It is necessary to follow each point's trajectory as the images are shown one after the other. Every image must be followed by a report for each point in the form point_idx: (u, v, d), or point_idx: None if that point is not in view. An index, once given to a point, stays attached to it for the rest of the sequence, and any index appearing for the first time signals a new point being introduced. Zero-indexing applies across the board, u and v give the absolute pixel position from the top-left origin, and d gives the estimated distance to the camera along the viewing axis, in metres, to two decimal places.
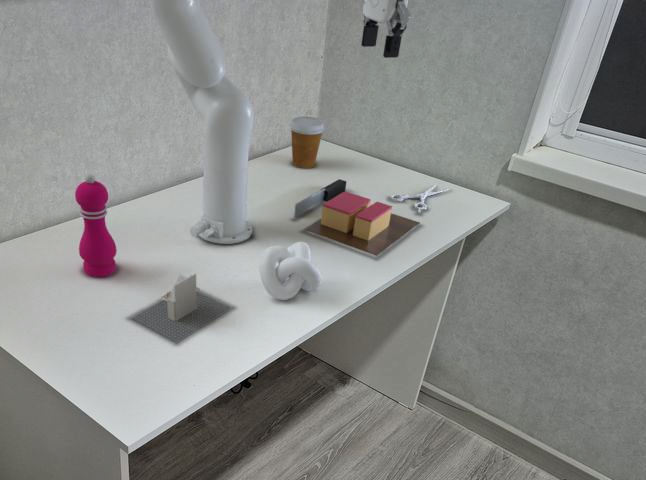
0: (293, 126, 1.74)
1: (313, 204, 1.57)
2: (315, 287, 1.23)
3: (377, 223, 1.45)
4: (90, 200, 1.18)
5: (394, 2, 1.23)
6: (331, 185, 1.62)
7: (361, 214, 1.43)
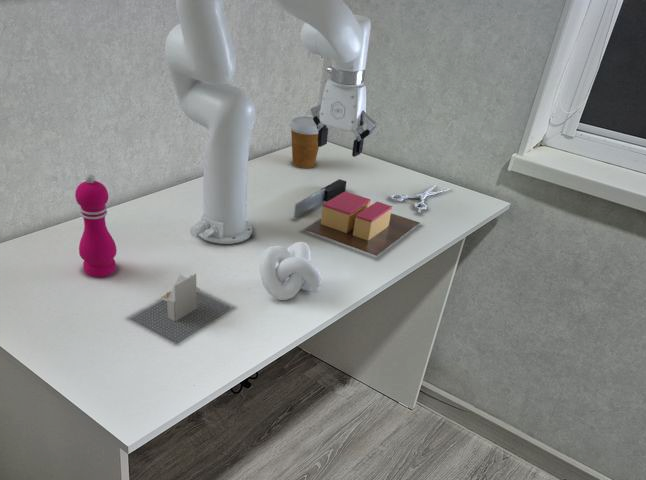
0: (293, 126, 1.74)
1: (313, 204, 1.57)
2: (315, 287, 1.23)
3: (377, 223, 1.45)
4: (90, 200, 1.18)
5: (360, 114, 1.48)
6: (331, 185, 1.62)
7: (361, 214, 1.43)
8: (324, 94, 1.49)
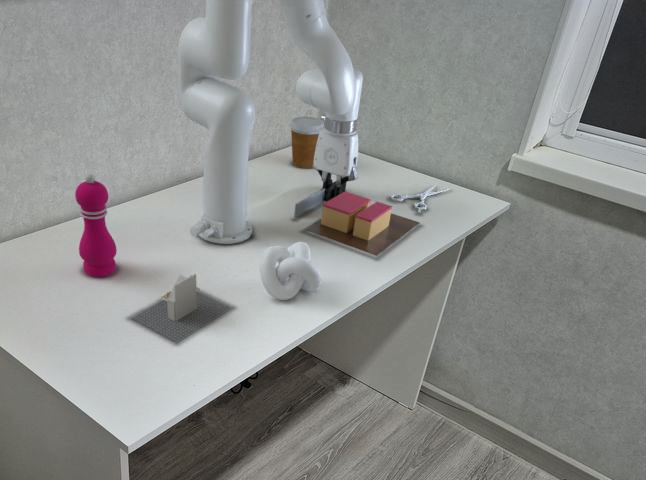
0: (293, 126, 1.74)
1: (313, 204, 1.57)
2: (315, 287, 1.23)
3: (377, 223, 1.45)
4: (90, 200, 1.18)
5: (352, 161, 1.54)
6: (331, 185, 1.62)
7: (361, 214, 1.43)
8: (318, 141, 1.56)
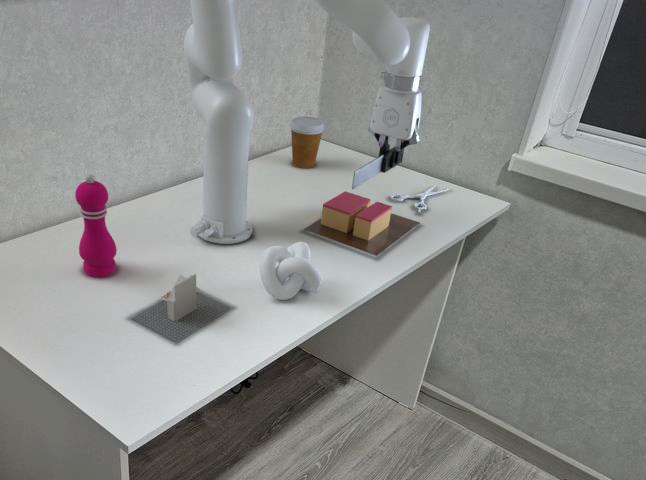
0: (293, 126, 1.74)
1: (371, 172, 1.44)
2: (315, 287, 1.23)
3: (377, 223, 1.45)
4: (90, 200, 1.18)
5: (415, 122, 1.41)
6: (389, 152, 1.49)
7: (361, 214, 1.43)
8: (377, 101, 1.42)
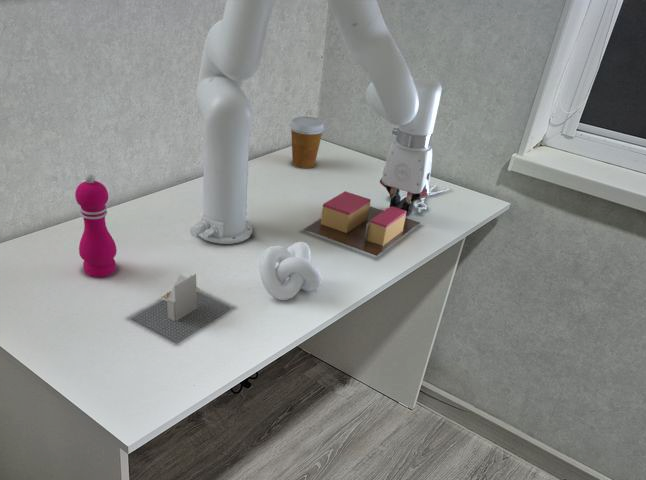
0: (293, 126, 1.74)
1: None
2: (315, 287, 1.23)
3: (392, 228, 1.43)
4: (90, 200, 1.18)
5: (425, 177, 1.45)
6: (399, 203, 1.53)
7: (376, 219, 1.42)
8: (389, 155, 1.47)
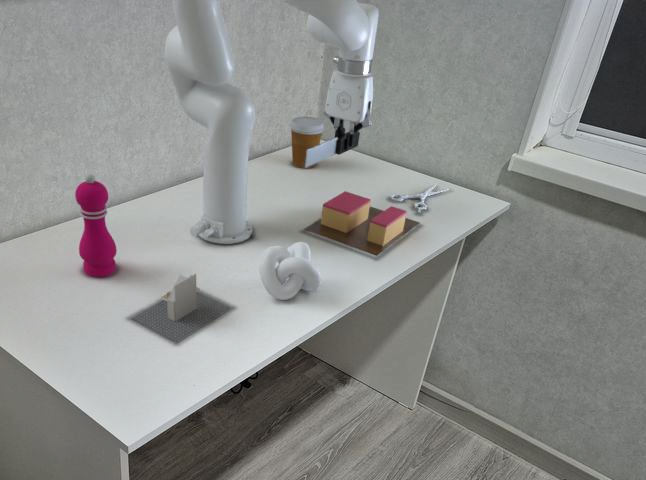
0: (293, 126, 1.74)
1: (325, 153, 1.49)
2: (315, 287, 1.23)
3: (392, 228, 1.43)
4: (90, 200, 1.18)
5: (366, 105, 1.46)
6: (344, 135, 1.54)
7: (376, 219, 1.42)
8: (330, 84, 1.47)
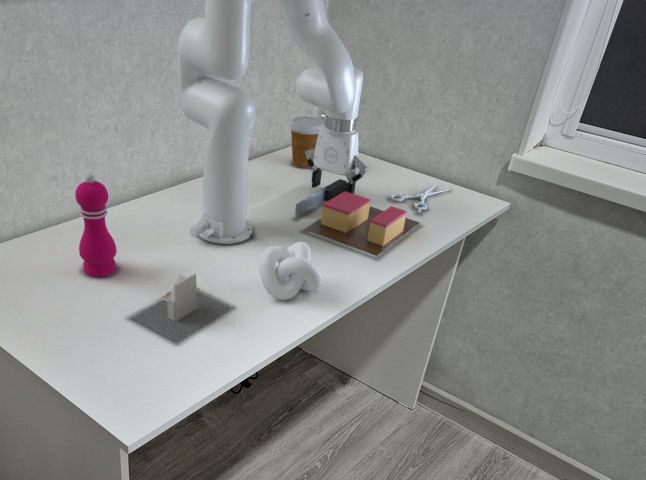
0: (293, 126, 1.74)
1: (314, 204, 1.57)
2: (315, 287, 1.23)
3: (392, 228, 1.43)
4: (90, 200, 1.18)
5: (352, 159, 1.54)
6: (332, 185, 1.62)
7: (376, 219, 1.42)
8: (318, 139, 1.56)
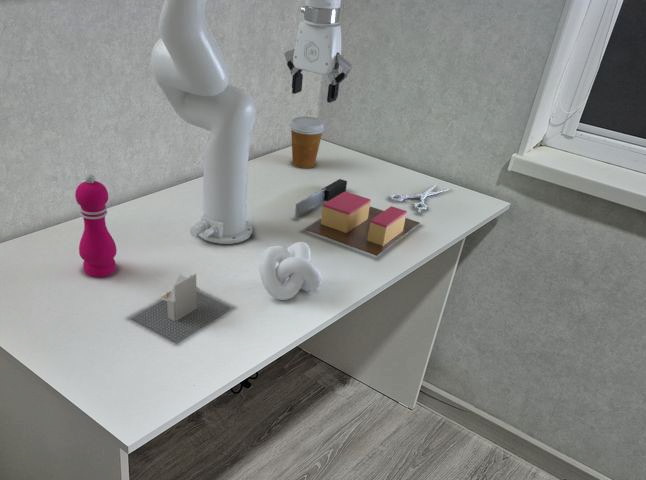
0: (293, 126, 1.74)
1: (314, 204, 1.57)
2: (315, 287, 1.23)
3: (392, 228, 1.43)
4: (90, 200, 1.18)
5: (334, 56, 1.42)
6: (332, 185, 1.62)
7: (376, 219, 1.42)
8: (298, 35, 1.43)
